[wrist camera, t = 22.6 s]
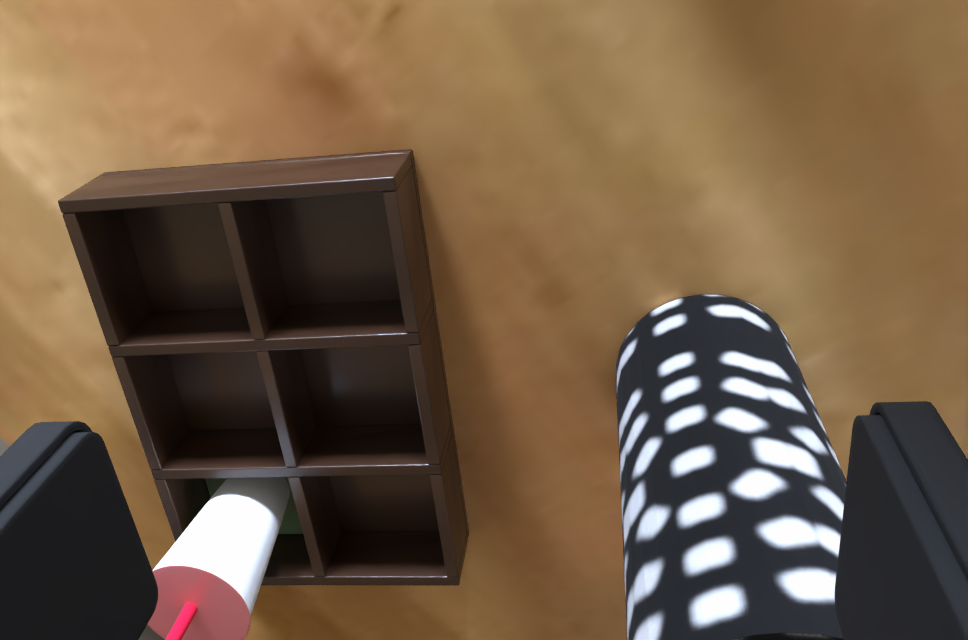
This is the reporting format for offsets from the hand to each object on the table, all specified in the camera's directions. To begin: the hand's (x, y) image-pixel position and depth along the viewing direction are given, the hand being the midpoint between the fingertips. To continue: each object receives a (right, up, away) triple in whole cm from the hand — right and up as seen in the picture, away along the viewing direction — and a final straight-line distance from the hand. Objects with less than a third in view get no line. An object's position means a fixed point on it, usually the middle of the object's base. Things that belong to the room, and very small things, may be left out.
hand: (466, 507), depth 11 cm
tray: (-9, 0, +33) cm, 34 cm away
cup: (-12, -7, +36) cm, 39 cm away
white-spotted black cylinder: (+11, 0, +31) cm, 33 cm away
